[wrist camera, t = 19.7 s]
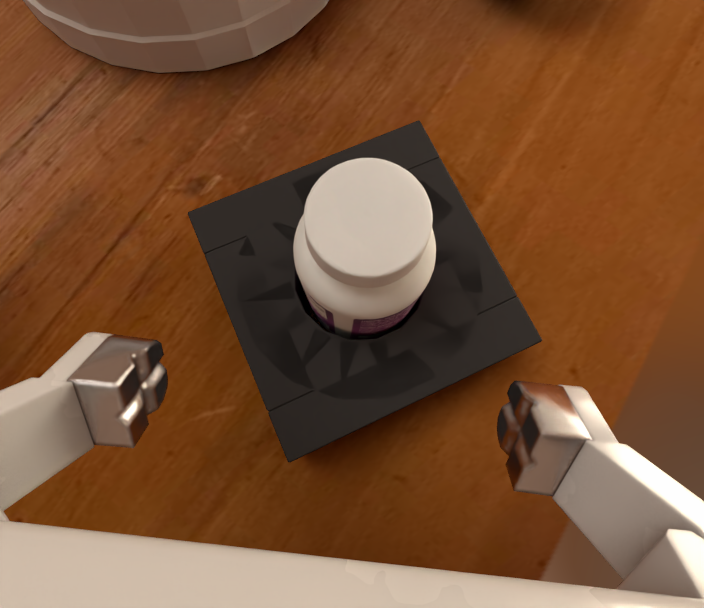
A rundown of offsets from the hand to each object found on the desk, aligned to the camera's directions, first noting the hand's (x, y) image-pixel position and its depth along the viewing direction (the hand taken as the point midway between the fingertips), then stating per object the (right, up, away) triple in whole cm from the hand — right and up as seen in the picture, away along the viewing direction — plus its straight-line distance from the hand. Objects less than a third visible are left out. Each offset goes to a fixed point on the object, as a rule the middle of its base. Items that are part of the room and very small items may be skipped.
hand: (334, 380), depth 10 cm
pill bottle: (+1, +2, +12) cm, 13 cm away
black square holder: (+1, +2, +12) cm, 12 cm away
